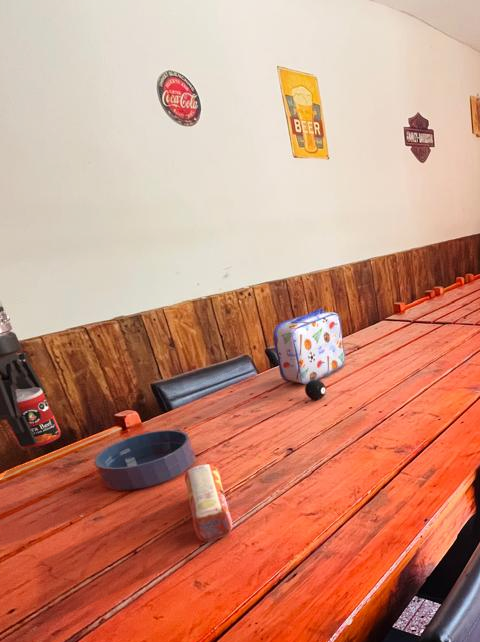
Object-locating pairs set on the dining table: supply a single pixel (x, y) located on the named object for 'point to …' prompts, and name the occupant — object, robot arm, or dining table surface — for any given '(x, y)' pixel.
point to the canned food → (37, 415)
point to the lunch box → (309, 346)
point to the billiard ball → (315, 389)
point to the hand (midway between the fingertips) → (38, 436)
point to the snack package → (208, 503)
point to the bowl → (145, 459)
